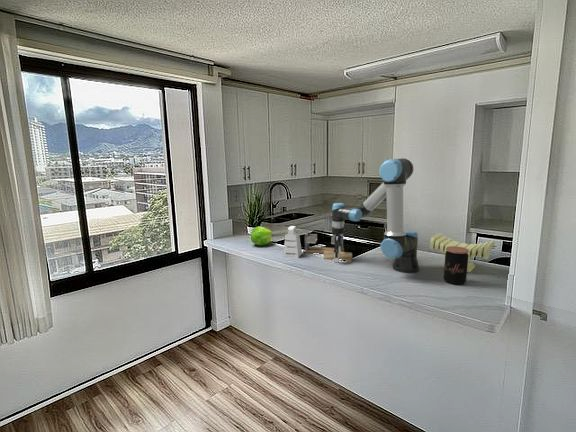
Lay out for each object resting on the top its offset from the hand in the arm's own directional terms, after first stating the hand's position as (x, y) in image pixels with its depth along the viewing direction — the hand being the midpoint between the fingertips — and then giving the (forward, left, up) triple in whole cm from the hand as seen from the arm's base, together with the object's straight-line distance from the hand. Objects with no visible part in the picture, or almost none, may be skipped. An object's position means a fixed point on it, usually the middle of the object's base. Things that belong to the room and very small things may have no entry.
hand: (337, 258), depth 211 cm
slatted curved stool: (-3, -72, -1) cm, 72 cm away
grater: (+3, +31, -1) cm, 31 cm away
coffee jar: (-26, -64, -1) cm, 69 cm away
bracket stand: (+15, +11, 0) cm, 18 cm away
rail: (0, 0, -1) cm, 1 cm away
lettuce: (+25, +60, -1) cm, 65 cm away
